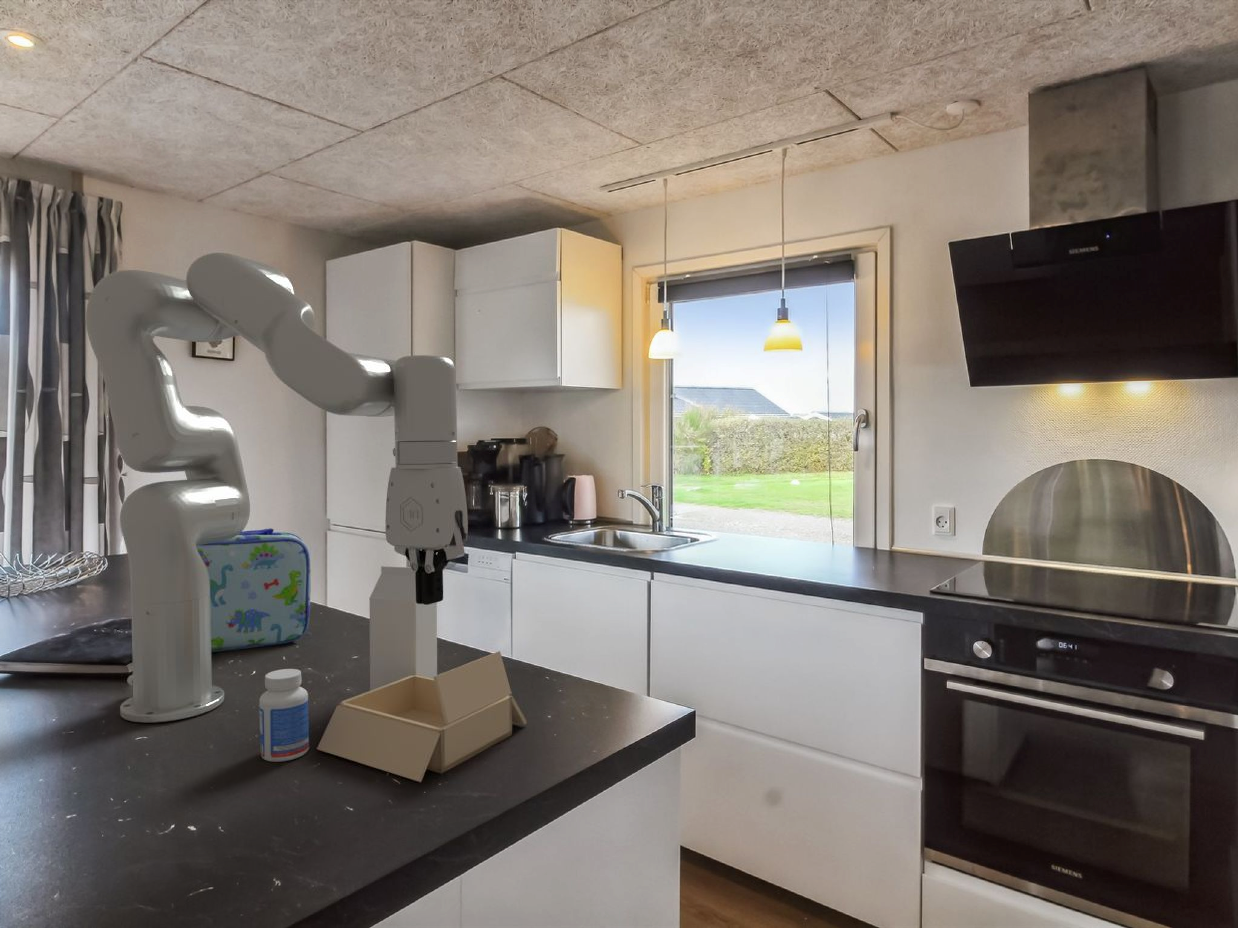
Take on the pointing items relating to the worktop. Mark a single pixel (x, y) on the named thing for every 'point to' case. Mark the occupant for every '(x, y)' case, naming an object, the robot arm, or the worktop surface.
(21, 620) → the worktop surface
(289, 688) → the pill bottle
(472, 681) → the flap
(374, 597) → the milk carton
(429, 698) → the carton
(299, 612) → the lunch box
